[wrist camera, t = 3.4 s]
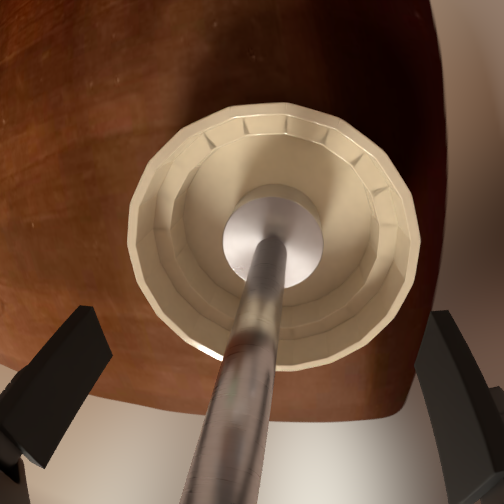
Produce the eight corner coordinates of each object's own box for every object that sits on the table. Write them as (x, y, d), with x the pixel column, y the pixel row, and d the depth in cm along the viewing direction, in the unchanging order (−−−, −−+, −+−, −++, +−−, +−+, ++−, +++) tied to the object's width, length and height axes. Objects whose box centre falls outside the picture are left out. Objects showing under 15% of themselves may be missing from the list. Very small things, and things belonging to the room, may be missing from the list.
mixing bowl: (393, 105, 17) (428, 107, 12) (378, 316, 24) (393, 368, 19) (151, 118, 20) (104, 126, 15) (185, 314, 27) (162, 362, 22)
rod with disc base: (320, 182, 20) (378, 528, 3) (320, 266, 22) (327, 567, 5) (227, 185, 21) (28, 460, 4) (236, 267, 23) (136, 541, 6)
